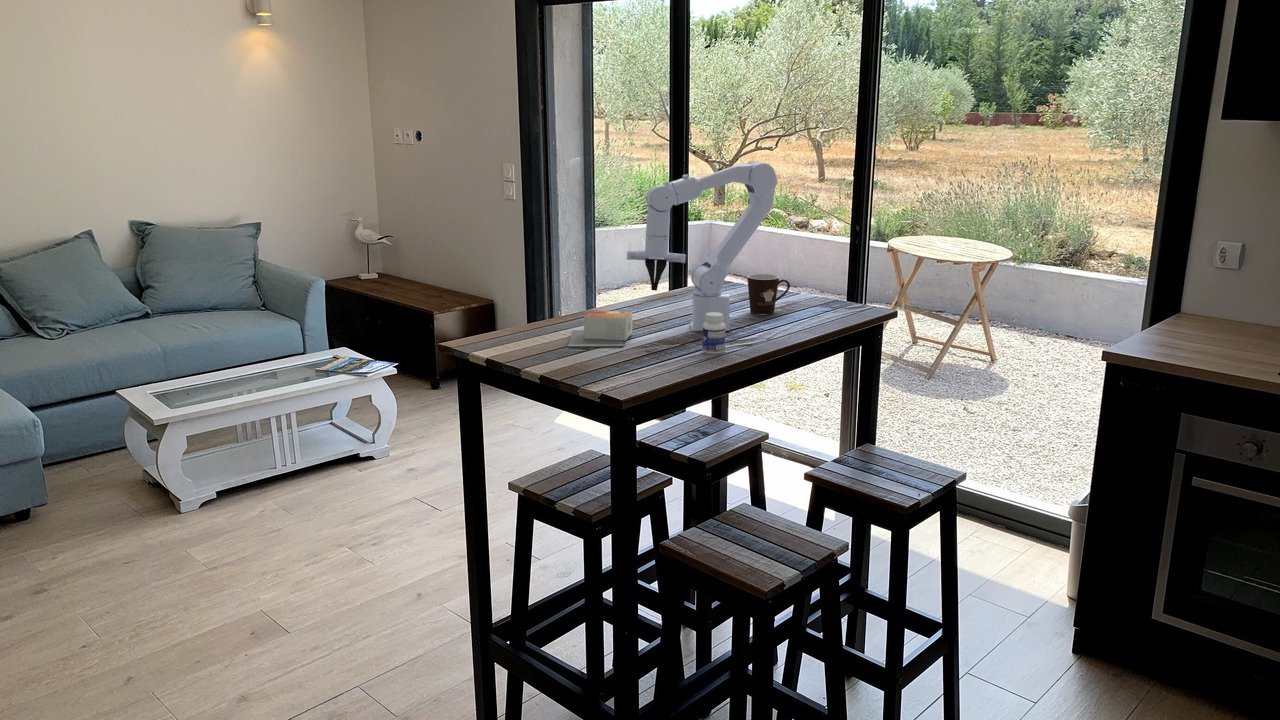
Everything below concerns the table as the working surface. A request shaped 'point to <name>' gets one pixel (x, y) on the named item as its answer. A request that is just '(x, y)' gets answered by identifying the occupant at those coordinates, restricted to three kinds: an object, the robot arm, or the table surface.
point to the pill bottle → (714, 333)
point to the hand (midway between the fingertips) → (654, 289)
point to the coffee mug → (764, 292)
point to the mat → (591, 341)
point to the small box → (608, 325)
